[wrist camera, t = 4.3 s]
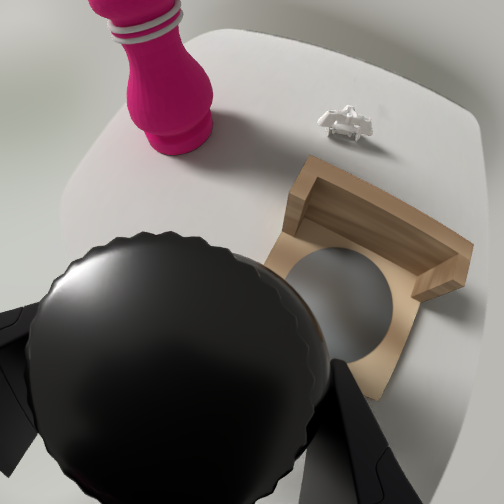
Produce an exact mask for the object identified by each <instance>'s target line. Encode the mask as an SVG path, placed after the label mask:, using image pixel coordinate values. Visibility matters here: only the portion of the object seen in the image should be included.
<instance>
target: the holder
mask: <svg viewBox="0 0 504 504" xmlns="http://www.w3.org/2000/svg"><path fill="white" fill-rule="evenodd" d="M473 246H474V244H473V243H471V242H469V241H468V240H466V239H465V238H463V237H462V236H460V235H459V234H457V233H456V232H454V231H452V230H451V229H449V228H448V227H446V226H444V225H443V224H441V223H439V222H438V221H436V220H434V219H433V218H431V217H429V216H428V215H426V214H424V213H423V212H421V211H419V210H417V209H416V208H414V207H412V206H410V205H409V204H407V203H405V202H403V201H401V200H400V199H398V198H396V197H394V196H392V195H390V194H389V193H387V192H385V191H383V190H381V189H379V188H377V187H375V186H374V185H372V184H370V183H368V182H366V181H364V180H362V179H360V178H358V177H356V176H354V175H352V174H350V173H348V172H346V171H344V170H342V169H339V168H337V167H335V166H333V165H331V164H329V163H327V162H325V161H322V160H320V159H318V158H316V157H314V156H311V155H309V157H308V159H307V161H306V163H305V164H304V166H303V168H302V170H301V172H300V173H299V175H298V177H297V179H296V181H295V183H294V184H293V186H292V188H291V190H290V192H289V195H288V200H287V206H286V211H285V217H284V222H283V227H282V232H281V234H280V235H279V237H278V239H277V241H276V243H275V245H274V247H273V248H272V250H271V252H270V254H269V256H268V258H267V260H266V261H265V263H264V266H266V267H267V268H269V269H271V270H272V271H274V272H275V273H277V274H278V275H279V276H281V277H282V278H283V279H284V280H285V281H287V282H288V283H289V284H290V285H291V286H292V287H293V288H294V289H295V290H296V291H297V292H298V293H299V294H300V295H301V297H302V298H303V299H304V301H305V302H306V303H307V305H308V306H309V307H310V309H311V311H312V312H313V314H314V316H315V317H316V319H317V321H318V323H319V325H320V328H321V330H322V333H323V335H324V338H325V341H326V345H327V349H328V353H329V360H330V361H331V359H333V358H337V359H340V360H344V361H345V362H346V363H347V365H348V367H349V369H350V371H351V372H352V374H353V376H354V378H355V380H356V382H357V384H358V386H359V388H360V390H361V391H362V393H363V395H364V396H367V397H369V398H371V399H374V400H376V401H379V400H380V398H381V396H382V394H383V392H384V389H385V387H386V385H387V383H388V381H389V379H390V377H391V375H392V372H393V370H394V368H395V366H396V364H397V361H398V359H399V357H400V354H401V352H402V350H403V347H404V345H405V342H406V340H407V337H408V335H409V332H410V330H411V327H412V325H413V322H414V319H415V317H416V314H417V311H418V308H419V305H420V303H421V302H424V301H427V300H429V299H432V298H435V297H438V296H440V295H443V294H446V293H449V292H451V291H454V290H456V289H459V288H462V287H464V286H465V282H466V278H467V274H468V269H469V265H470V261H471V256H472V251H473Z"/></svg>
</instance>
